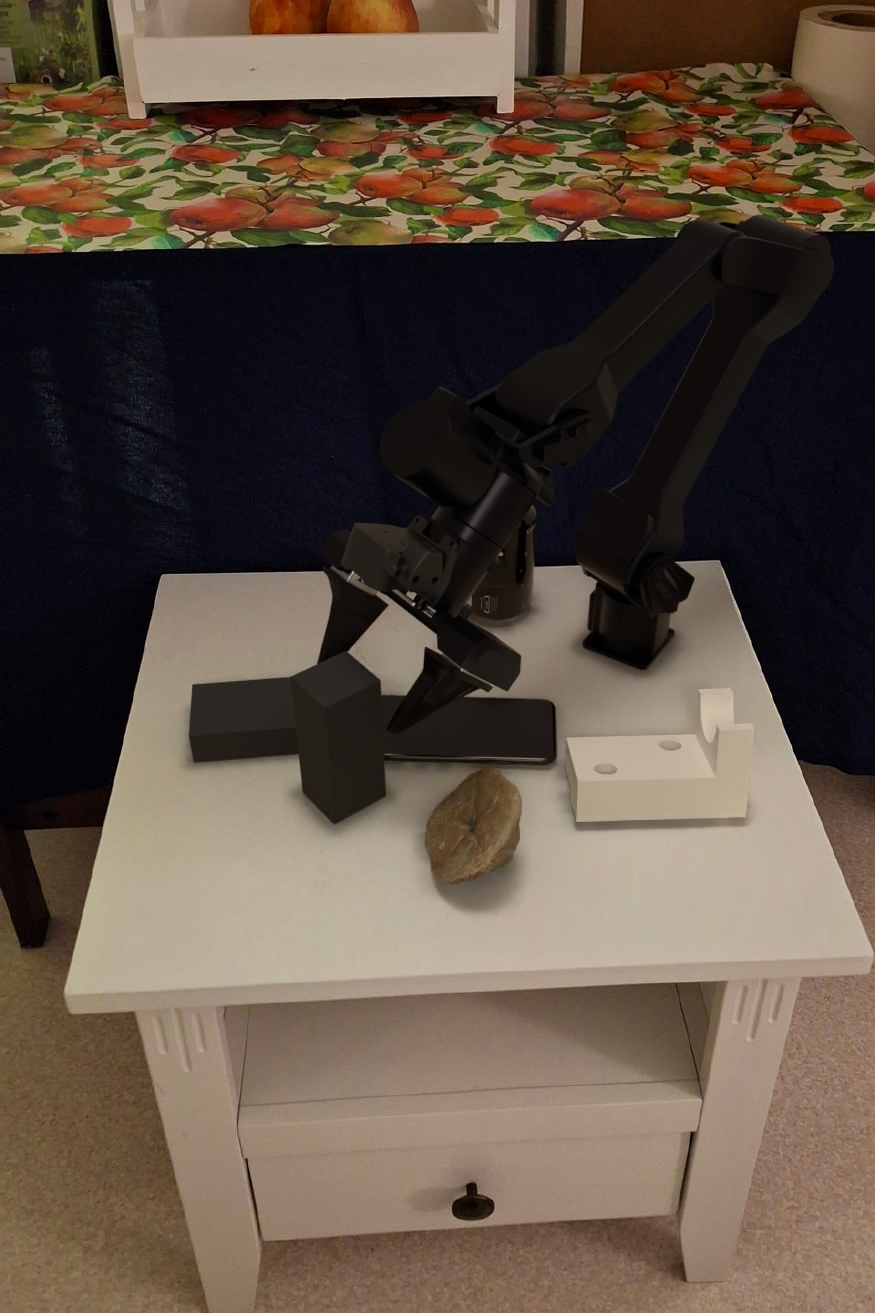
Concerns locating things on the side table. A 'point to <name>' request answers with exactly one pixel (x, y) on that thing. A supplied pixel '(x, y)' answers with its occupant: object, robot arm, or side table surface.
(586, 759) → the bracket
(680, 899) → the side table surface
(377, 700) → the black pad block
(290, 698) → the base pad
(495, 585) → the beverage can
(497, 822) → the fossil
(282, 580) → the side table surface
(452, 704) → the smartphone
